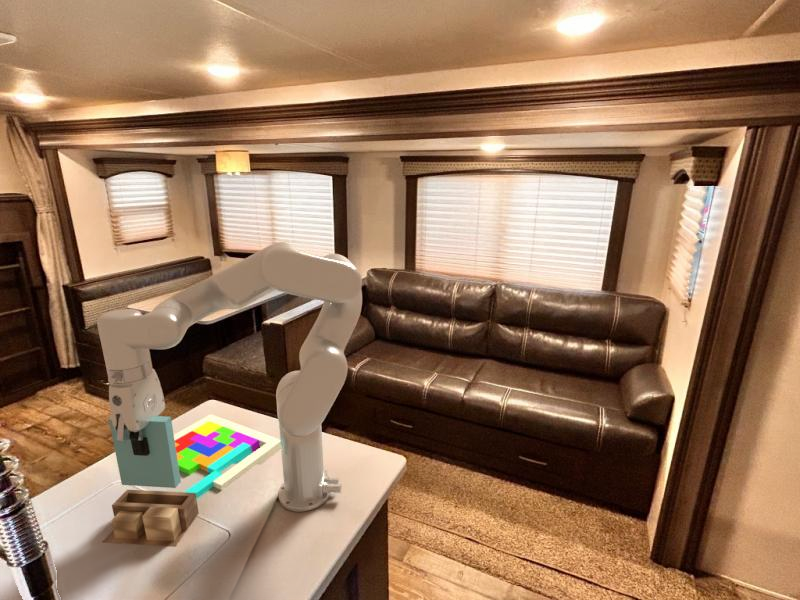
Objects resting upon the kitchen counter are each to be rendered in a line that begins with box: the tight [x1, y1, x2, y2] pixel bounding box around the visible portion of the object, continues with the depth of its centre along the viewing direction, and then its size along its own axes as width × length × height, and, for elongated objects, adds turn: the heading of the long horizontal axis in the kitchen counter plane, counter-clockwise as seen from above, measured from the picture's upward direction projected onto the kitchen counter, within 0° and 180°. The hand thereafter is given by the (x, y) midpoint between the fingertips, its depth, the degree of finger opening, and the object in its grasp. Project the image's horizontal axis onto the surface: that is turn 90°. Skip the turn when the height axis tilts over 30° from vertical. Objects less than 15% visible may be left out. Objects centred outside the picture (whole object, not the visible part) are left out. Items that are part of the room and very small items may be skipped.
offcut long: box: [142, 507, 181, 541], centre depth 88 cm, size 6×3×6 cm, turn 86°
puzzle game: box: [173, 413, 281, 500], centre depth 114 cm, size 30×3×30 cm
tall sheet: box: [108, 415, 181, 489], centre depth 88 cm, size 12×2×16 cm, turn 86°
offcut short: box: [111, 511, 145, 539], centre depth 89 cm, size 5×3×4 cm, turn 86°
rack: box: [101, 489, 199, 547], centre depth 90 cm, size 16×9×6 cm, turn 86°
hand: (145, 450), depth 88 cm, fingers closed on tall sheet, 2 cm apart
